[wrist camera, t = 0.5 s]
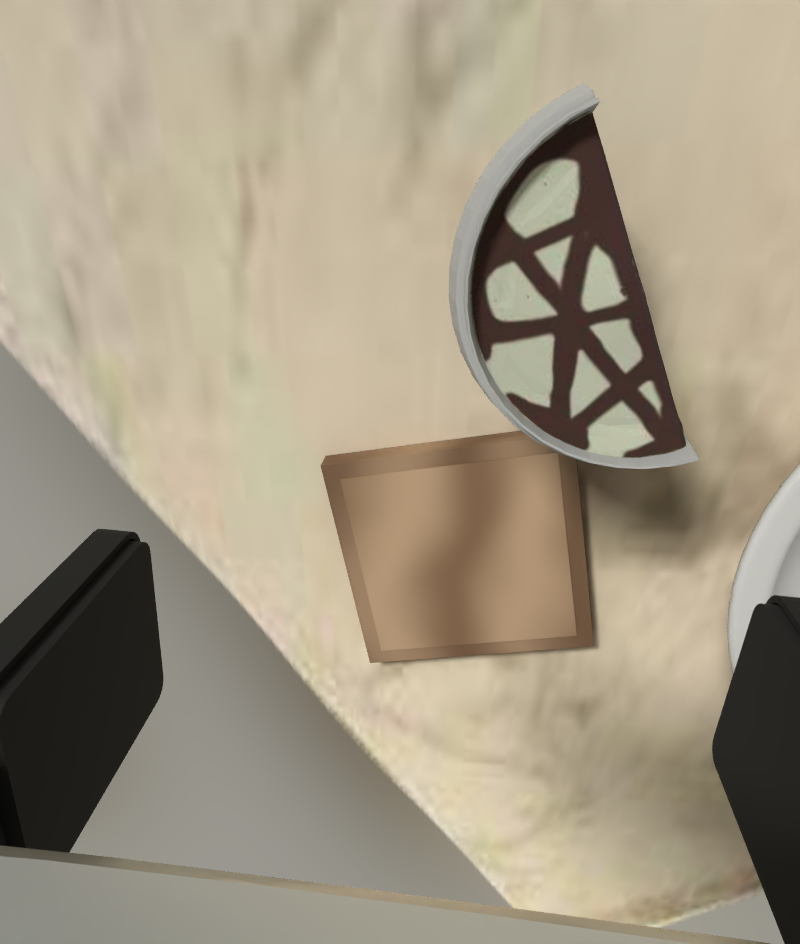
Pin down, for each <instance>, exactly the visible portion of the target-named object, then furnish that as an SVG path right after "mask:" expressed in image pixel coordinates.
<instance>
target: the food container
mask: <svg viewBox="0 0 800 944" xmlns="http://www.w3.org/2000/svg"><path fill="white" fill-rule="evenodd" d="M599 102H600V100H599V98H595V95H594V92H593V90H592V89H591V88H590V87H589V86H587V85H586V84H585V83H583V84H581V85H579V86H577V87H576V88H574V89H572V90H570V91H568V92H567V93H565V94H563V95H561V96H560V97H558V98H556V99H554V100H553V101H552V102H550V103H549V104H548V105H546V106H545V107H544V108H543V109H541V110H540V111H539V112H537V113H536V114H535V115H534V116H532V117H531V118H530V119H528V120H527V121H526V122H525V123H524V124H523V125H522V126H521V127H520V128H519V129H518V130H517V131H516V132H515V133H514V134H513V135H512V136H511V137H510V138H509V139H508V140H507V141H506V142H505V144H504V145H503V146H502V147H501V148H500V149H499V151H498V152H497V153H496V155H495V156H494V158H493V159H492V160H491V162H490V163H489V165H488V166H487V167H486V169H485V170H484V172H483V173H482V174H481V176H480V178H479V180H478V182H477V184H476V186H475V188H474V190H473V191H472V193H471V195H470V197H469V199H468V201H467V203H466V205H465V208H464V211H463V214H462V217H461V220H460V223H459V226H458V229H457V232H456V235H455V239H454V245H453V250H452V256H451V262H450V272H449V301H450V308H451V315H452V323H453V327H454V331H455V334H456V337H457V341H458V344H459V347H460V351H461V353H462V355H463V357H464V359H465V361H466V363H467V365H468V367H469V369H470V371H471V373H472V376H473V377H474V379H475V380H476V381H477V383H478V384H479V386H480V387H481V388H482V390H483V391H484V393H485V394H486V395H487V397H488V398H489V399H490V401H491V402H492V403H493V404H494V405H495V406H496V407H497V408H498V409H499V411H500V412H501V413H502V414H503V415H504V416H505V417H506V418H507V419H508V420H509V421H510V422H511V423H512V424H513V425H514V426H516V427H517V428H518V429H520V430H521V431H522V432H524V433H525V434H526V435H528V436H529V437H530V438H532V439H533V440H535V441H536V442H538V443H540V444H542V445H544V446H546V447H548V448H550V449H552V450H553V451H555V452H557V453H559V454H562V455H565V456H568V457H571V458H574V459H577V460H580V461H583V462H587V463H592V464H597V465H603V466H608V467H615V468H633V469H650V468H661V467H671V466H677V465H681V464H685V463H690V462H694V461H698V460H699V458H698V456H697V455H696V453H695V451H694V450H693V448H692V446H691V445H690V443H689V441H688V439H687V438H686V436H685V434H684V433H683V427H682V424H681V422H680V419H679V417H678V414H677V411H676V408H675V404H674V401H673V397H672V394H671V390H670V386H669V382H668V379H667V375H666V371H665V368H664V364H663V361H662V357H661V354H660V350H659V346H658V343H657V339H656V335H655V331H654V328H653V324H652V320H651V316H650V312H649V308H648V305H647V301H646V297H645V293H644V290H643V287H642V283H641V280H640V277H639V273H638V270H637V267H636V263H635V260H634V257H633V253H632V250H631V246H630V243H629V239H628V236H627V232H626V228H625V225H624V221H623V218H622V214H621V210H620V207H619V203H618V200H617V196H616V193H615V189H614V186H613V182H612V179H611V175H610V171H609V168H608V164H607V161H606V157H605V154H604V150H603V147H602V144H601V140H600V137H599V133H598V130H597V127H596V123H595V120H594V117H593V113H592V112H593V111H594V109H595V108H596V106H597V105H598V103H599Z"/></svg>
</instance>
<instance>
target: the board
mask: <svg viewBox="0 0 800 944" xmlns="http://www.w3.org/2000/svg"><path fill="white" fill-rule="evenodd" d="M321 469H322V473H323V477H324V481H325V485H326V489H327V493H328V497H329V501H330V505H331V509H332V513H333V517H334V521H335V525H336V529H337V533H338V537H339V541H340V545H341V549H342V553H343V557H344V561H345V565H346V569H347V573H348V577H349V581H350V585H351V589H352V593H353V597H354V600H355V604H356V608H357V612H358V616H359V620H360V624H361V628H362V632H363V636H364V640H365V644H366V648H367V652H368V656H369V660H370V663H376V662H389V661H402V660H416V659H429V658H442V657H456V656H469V655H482V654H496V653H509V652H522V651H535V650H549V649H562V648H575V647H589V646H594V644H593V633H592V622H591V611H590V600H589V590H588V579H587V568H586V557H585V546H584V535H583V525H582V514H581V503H580V492H579V481H578V470H577V460H576V459H574V458H571V457H568V456H565V455H562V454H559V453H557V452H555V451H553V450H552V449H550V448H548V447H546V446H544V445H542V444H540V443H538V442H536V441H535V440H533V439H532V438H530V437H529V436H528V435H526V434H525V433H524V432H522V431H515V432H507V433H500V434H492V435H484V436H476V437H469V438H461V439H453V440H446V441H438V442H430V443H422V444H415V445H407V446H399V447H392V448H384V449H376V450H368V451H361V452H353V453H345V454H337V455H330V456H326V457H325V459H324V461H323V463H322V465H321Z"/></svg>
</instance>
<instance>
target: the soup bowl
mask: <svg viewBox="0 0 800 944" xmlns="http://www.w3.org/2000/svg"><path fill="white" fill-rule="evenodd" d="M774 595H778V596H789V597H799V598H800V463H799V464H798V465H797V466H796V468H795V469H794V470H793V471H792V472H791V474H790V475H789V476H788V477H787V478H786V480H785V481H784V482H783V483H782V485H781V486H780V488H779V489H778V491H777V492H776V493H775V495H774V496H773V498H772V499H771V501H770V502H769V503H768V505H767V506H766V508H765V510H764V511H763V513H762V515H761V517H760V519H759V520H758V522H757V524H756V526H755V527H754V529H753V531H752V533H751V535H750V538H749V540H748V542H747V544H746V547H745V549H744V551H743V554H742V556H741V559H740V562H739V565H738V568H737V572H736V575H735V578H734V581H733V586H732V592H731V597H730V602H729V612H728V645H729V656H730V661H731V666H732V671H733V674H734V671H735V667H736V664H737V661H738V658H739V654H740V651H741V648H742V645H743V642H744V638H745V635H746V632H747V629H748V626H749V622H750V619H751V616H752V613H753V610H754V608H755V607H756V605H757V604H760V603H762V604H766V602H767V600H768V599H769V598H770V597H771V596H774Z"/></svg>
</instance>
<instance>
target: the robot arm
mask: <svg viewBox="0 0 800 944" xmlns="http://www.w3.org/2000/svg"><path fill="white" fill-rule="evenodd" d="M152 573H153V572H152V563H151V553H150V548H149V546H148V544H147V543H145V542H140V539H139V537H138V535H137V534H136V533H135V532H128V531H118V530H108V529H97V530H96V531H94V532H93V533H92V534H91V535H90V536H89V537H88V538H87V539H86V540H85V541H84V542H83V543H82V544H81V545H80V546H79V547H78V548H77V549H76V550H75V551H74V552H73V553H72V554H71V555H70V556H69V557H68V558H67V559H66V560H65V561H64V562H63V563H62V564H61V565H59V566H58V568H56V570H54V572H52V573H51V574H50V575H49V576H48V577H47V578H46V579H45V580H44V581H43V582H42V583H41V584H40V585H39V586H38V587H37V588H36V589H35V590H34V591H33V592H32V593H31V594H30V595H29V596H28V597H27V598H26V599H25V600H24V601H23V602H22V603H21V604H20V605H19V606H18V607H17V608H16V609H15V610H14V611H13V612H12V613H11V614H10V615H9V616H8V617H7V618H6V619H5V620H4V621H3V622H2V623H1V624H0V944H769V943H763V942H756V941H750V940H743V939H735V938H728V937H721V936H713V935H706V934H698V933H691V932H684V931H676V930H669V929H662V928H655V927H647V926H640V925H633V924H625V923H618V922H611V921H603V920H596V919H589V918H581V917H574V916H566V915H559V914H552V913H544V912H537V911H529V910H522V909H514V908H506V907H499V906H491V905H484V904H476V903H468V902H460V901H453V900H445V899H437V898H430V897H423V896H415V895H407V894H399V893H391V892H384V891H376V890H368V889H361V888H352V887H345V886H337V885H329V884H322V883H314V882H307V881H299V880H291V879H283V878H274V877H266V876H258V875H250V874H242V873H234V872H225V871H218V870H210V869H201V868H194V867H186V866H178V865H170V864H162V863H153V862H146V861H137V860H129V859H121V858H113V857H104V856H94V855H85V854H76V853H69V852H70V850H71V848H72V847H73V845H74V844H75V842H76V840H77V838H78V837H79V835H80V833H81V832H82V830H83V828H84V826H85V825H86V823H87V821H88V820H89V818H90V816H91V814H92V813H93V811H94V809H95V808H96V806H97V804H98V803H99V801H100V799H101V797H102V796H103V794H104V792H105V790H106V789H107V787H108V785H109V784H110V782H111V780H112V778H113V777H114V775H115V773H116V772H117V770H118V768H119V767H120V765H121V763H122V761H123V760H124V758H125V756H126V755H127V753H128V751H129V749H130V748H131V746H132V744H133V743H134V741H135V739H136V737H137V735H138V734H139V732H140V731H141V729H142V727H143V726H144V724H145V722H146V720H147V719H148V717H149V715H150V714H151V712H152V710H153V708H154V707H155V705H156V703H157V701H158V699H159V697H160V694H161V691H162V687H163V669H162V659H161V649H160V640H159V630H158V621H157V611H156V602H155V592H154V583H153V574H152ZM712 751H713V760H714V763H715V767H716V769H717V772H718V774H719V777H720V779H721V782H722V784H723V787H724V790H725V792H726V795H727V797H728V800H729V802H730V805H731V808H732V810H733V813H734V815H735V818H736V820H737V823H738V825H739V828H740V831H741V833H742V836H743V838H744V841H745V843H746V846H747V848H748V851H749V854H750V856H751V859H752V861H753V864H754V866H755V869H756V871H757V874H758V877H759V879H760V882H761V884H762V887H763V889H764V892H765V894H766V897H767V900H768V902H769V905H770V907H771V910H772V912H773V915H774V917H775V920H776V922H777V925H778V928H779V930H780V933H781V935H782V938H783V941H784V943H785V944H800V598H799V597H789V596H778V595H774V596H771V597H770V598H769V599H768V600H767V602H766V604H762V603H760V604H757V605H756V607H755V608H754V610H753V613H752V616H751V619H750V622H749V626H748V629H747V632H746V635H745V638H744V642H743V645H742V648H741V651H740V654H739V658H738V661H737V664H736V667H735V671H734V674H733V677H732V680H731V683H730V687H729V690H728V693H727V696H726V699H725V703H724V706H723V709H722V712H721V716H720V719H719V722H718V725H717V728H716V732H715V735H714V739H713V746H712Z"/></svg>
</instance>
